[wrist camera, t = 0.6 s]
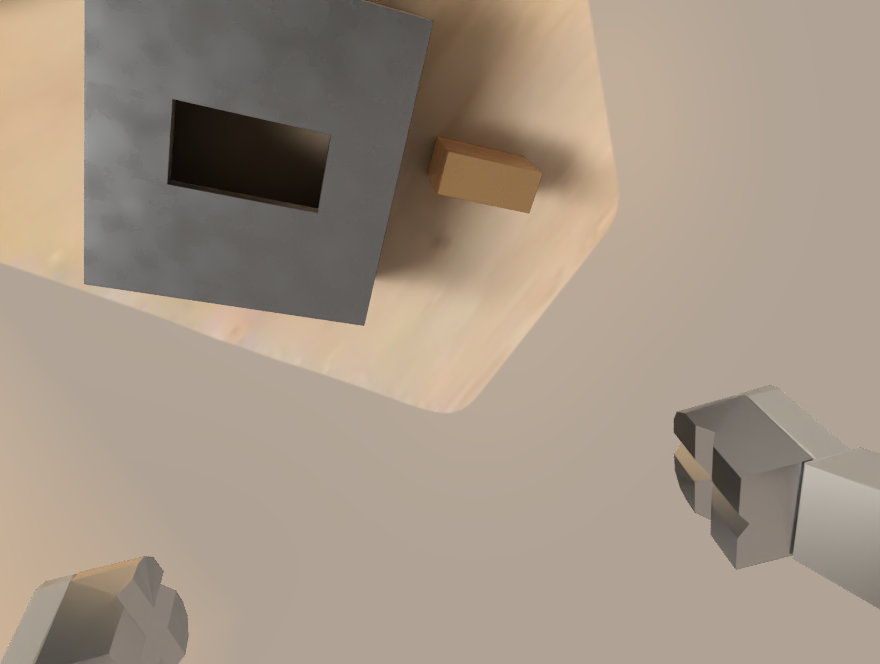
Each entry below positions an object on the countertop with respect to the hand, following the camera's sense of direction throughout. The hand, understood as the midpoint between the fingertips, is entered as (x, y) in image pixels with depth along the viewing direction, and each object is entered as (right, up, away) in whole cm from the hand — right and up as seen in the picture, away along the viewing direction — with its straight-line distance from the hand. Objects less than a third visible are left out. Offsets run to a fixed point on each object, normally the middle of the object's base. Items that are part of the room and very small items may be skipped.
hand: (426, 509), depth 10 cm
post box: (-13, +17, +35) cm, 41 cm away
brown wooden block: (+3, +16, +39) cm, 42 cm away
